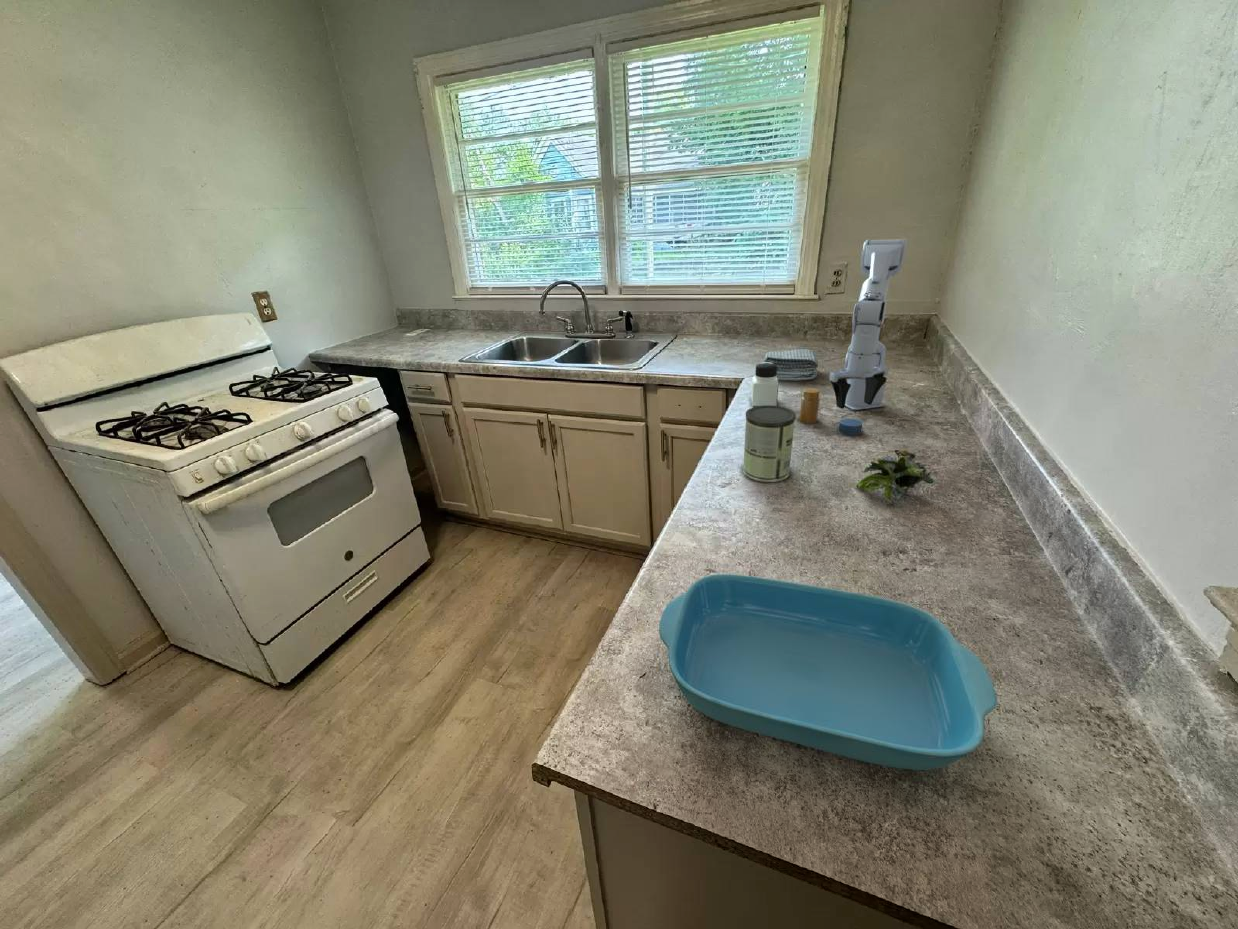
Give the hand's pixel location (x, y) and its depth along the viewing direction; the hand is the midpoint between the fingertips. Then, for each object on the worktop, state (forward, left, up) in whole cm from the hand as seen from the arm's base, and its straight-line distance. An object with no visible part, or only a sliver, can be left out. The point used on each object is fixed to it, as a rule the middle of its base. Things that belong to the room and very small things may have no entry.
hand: (853, 405), depth 125 cm
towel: (-9, -50, -7) cm, 51 cm away
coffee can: (+30, +14, -7) cm, 34 cm away
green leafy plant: (+11, +31, -7) cm, 34 cm away
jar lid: (0, 0, -5) cm, 5 cm away
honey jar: (+6, -10, -7) cm, 14 cm away
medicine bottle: (+11, -27, -7) cm, 30 cm away
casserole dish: (+50, +67, -7) cm, 84 cm away
